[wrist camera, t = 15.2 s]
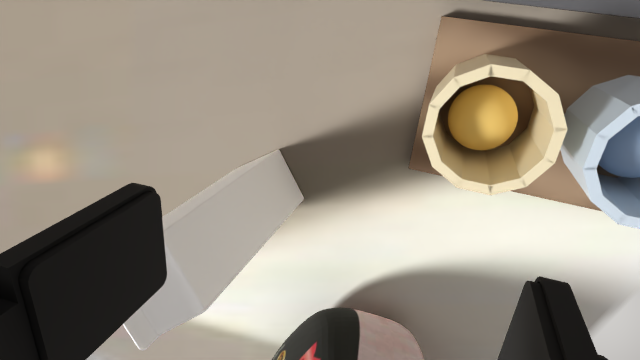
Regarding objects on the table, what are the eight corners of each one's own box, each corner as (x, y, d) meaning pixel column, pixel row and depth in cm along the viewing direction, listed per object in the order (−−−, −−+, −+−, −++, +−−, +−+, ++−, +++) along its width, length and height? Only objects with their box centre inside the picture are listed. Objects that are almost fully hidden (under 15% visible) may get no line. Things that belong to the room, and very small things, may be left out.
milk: (279, 148, 42) (122, 257, 23) (305, 199, 43) (177, 345, 24) (234, 168, 45) (59, 282, 25) (260, 216, 46) (111, 360, 26)
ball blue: (597, 94, 31) (618, 109, 26) (675, 106, 29) (710, 124, 25) (573, 156, 33) (588, 179, 28) (644, 170, 32) (671, 196, 27)
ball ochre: (460, 72, 33) (451, 87, 29) (527, 84, 32) (527, 101, 27) (446, 130, 36) (436, 151, 32) (507, 143, 34) (505, 167, 30)
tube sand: (445, 48, 33) (439, 56, 26) (558, 64, 31) (586, 78, 24) (422, 146, 36) (412, 177, 29) (523, 167, 34) (538, 206, 27)
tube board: (439, -254, 28) (438, -265, 27) (897, -267, 22) (919, -282, 21) (368, 155, 39) (365, 159, 38) (652, 217, 34) (658, 223, 33)
